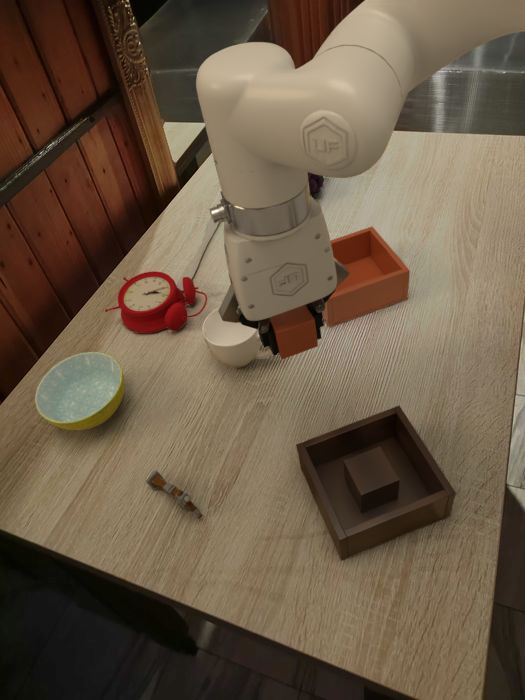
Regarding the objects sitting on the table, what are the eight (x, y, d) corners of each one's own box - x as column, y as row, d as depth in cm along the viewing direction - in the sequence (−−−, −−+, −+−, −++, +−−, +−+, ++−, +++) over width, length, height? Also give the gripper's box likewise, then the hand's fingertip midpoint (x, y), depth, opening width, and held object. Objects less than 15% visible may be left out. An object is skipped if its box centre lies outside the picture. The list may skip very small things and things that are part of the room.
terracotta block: (303, 321, 63) (299, 294, 60) (318, 346, 60) (314, 319, 57) (268, 334, 62) (262, 307, 59) (281, 360, 60) (276, 333, 56)
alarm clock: (123, 268, 87) (201, 256, 81) (143, 295, 91) (219, 286, 85) (96, 315, 81) (178, 306, 75) (119, 341, 85) (198, 336, 79)
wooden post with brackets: (200, 526, 60) (179, 501, 57) (164, 503, 66) (144, 479, 64) (211, 514, 60) (190, 488, 58) (174, 492, 66) (155, 468, 64)
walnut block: (379, 465, 62) (380, 445, 58) (398, 498, 59) (399, 479, 55) (344, 479, 61) (343, 460, 58) (361, 513, 58) (360, 495, 55)
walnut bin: (397, 431, 65) (399, 404, 61) (449, 516, 57) (456, 492, 53) (300, 468, 63) (295, 444, 59) (341, 560, 56) (339, 540, 52)
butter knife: (168, 288, 87) (184, 289, 86) (222, 194, 104) (236, 194, 103) (169, 291, 88) (186, 292, 87) (223, 197, 104) (237, 196, 103)
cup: (226, 332, 80) (216, 299, 75) (288, 344, 76) (283, 311, 71) (204, 371, 75) (192, 339, 70) (269, 386, 72) (262, 354, 67)
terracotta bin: (372, 254, 86) (372, 226, 82) (407, 299, 79) (410, 270, 75) (299, 279, 85) (296, 251, 81) (328, 327, 77) (326, 299, 73)
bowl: (139, 435, 70) (122, 408, 65) (53, 457, 70) (30, 432, 65) (135, 370, 78) (120, 342, 73) (57, 390, 77) (38, 363, 73)
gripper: (187, 257, 44) (232, 389, 58) (374, 192, 46) (375, 335, 59) (169, 211, 49) (214, 342, 63) (337, 154, 51) (346, 294, 64)
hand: (292, 337), depth 61 cm, fingers closed on terracotta block, 4 cm apart
